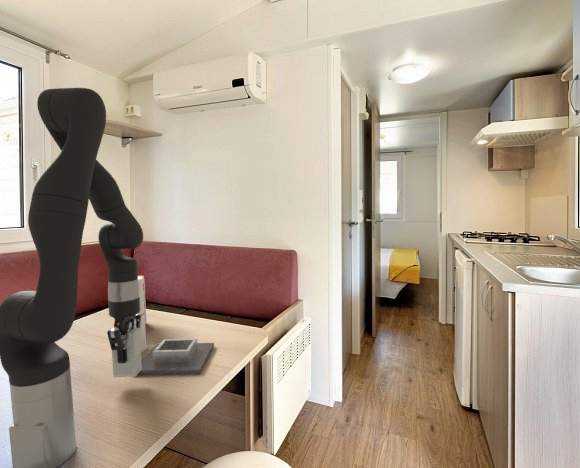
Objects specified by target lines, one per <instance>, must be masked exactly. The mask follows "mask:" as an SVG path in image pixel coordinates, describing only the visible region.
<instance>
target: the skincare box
mask: <svg viewBox="0 0 580 468" xmlns="http://www.w3.org/2000/svg"><path fill="white" fill-rule="evenodd" d="M125 335H126V334H125ZM125 335H121V337H125ZM122 344H123V340H122ZM126 348H127V362H126V363H118V360H117V350H111V355H112V356H111V358H112V360H111V361H112V374H113V378H114V379H115V378H129V377H130V378H131V377H137V376H136V375H137V374H138V373H139V372H140V370H141V369H142V364H141V360H142V352H141V346H140V329H139V328H135V329H131V330H130V333H129V339H128V340H127V347H126Z"/></svg>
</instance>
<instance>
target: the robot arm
mask: <svg viewBox="0 0 580 468" xmlns="http://www.w3.org/2000/svg"><path fill="white" fill-rule="evenodd" d="M36 101H37V103H36V105H37V110H38V113H39V116H40V118H41V121H42V123H43V125H44V126H45V128H46V130H47V131H48V132H49V135H50V136H51V137H52V139H53V141H54V142H55V143H56V145H57V147H58V148H59V150H60V153H59V154H58V156H57V157H56V158H55V159H54V160H53V161H52V163H50V165H49V167H48V168H47V169H45V171H44V172H43V174H42V175H40V177H39V179H38V180H37V182H36V184H35V186H34V188H33V191H32V194H31V200H30V204H29V205H30V206H29V210H28V215H27V217H28V218H27V225H28V230H29V232H30V236H31V238H32V242H33V244H34V247H35V249H36V251H37V255H38V260H39V275H38V281H37V287H36V290H22V291H18V292H14V293H13V294H11V295H9V296H8V297H7V298H5V299H4V301H3V302H1V305H0V364H1V366H2V368H3V370H4V371H5V373H6V374H7V376H8V382H9V392H10V402H11V403H10V405H11V412H12V423H13V424H12V425H11V426H10V427H8V433H9V434H8V435H9V443H10V445H9V446H10V454H11V455H10V456H11V463H12V465H11V466H12V468H58V467H60V466H61V465H62V464H64V463H65V462H67V461H68V460H69V459H70V458H71V457H72V456H73V455H74V453H75V451H76V450H77V439H76V437H77V436H76V424H75V413H74V411H75V410H74V400H73V389H72V376H71V375H72V374H71V362H70V355H69V353H68V351H66V350H65V349H64V348H62V347H60V346H59V345H58V344H57V343H56V342H58V341H60V340H62V339H63V338H64V337H65V336H66V335H67V334H68V333H69V331H70V330H71V328H72V327H73V324H74V321H75V318H76V315H77V308H78V307H77V305H78V289H79V288H78V283H79V282H78V281H79V267H80V259H81V258H80V257H81V251H82V241H83V235H84V229H85V225H86V220H87V213H88V208H89V202H90V205H91V206H92V209H93V212H94V213H95V215H96V217H97V218H98V219H99V220H102V221H106V222H108V223H104V224H103V225H102V226H101V227H100V229H99V232H98V244H99V246H100V249H101V252H102V254H103V257H104V261H105V262H106V266H107V277H108V278H107V279H108V281H107V282H108V284H107V300H108V301H107V302H108V303H107V304H108V315H109V316H110V317H111V318H113V319H114V323H113V328H112V329H108V330H107V333H106V334H107V338H108V343H109V345H110V349H111V351H112V350H117V360H118V363H126V362H127V348H126V347H127V340H128V339H129V333H130V330H131V329H135V328H139V329H140V323H141V315H140V314H139V315H138V313H139V312H140V293H139V283H138V276H139V275H138V262H137V260H136V259H135V258H134V257H130V256H126V255H125V254H124V253H123V251H122V250H134V249H138V248H139V247H140V246H141V245H142V244H143V241H144V231H143V228H142V227H141V226H142V225H141V224H140V223H139V222H138V220H137V219H136V218H135V216H134V215H133V214H132V212H131V211H130V209H129V208H128V207H127V205H126V202H125V200H124V198H123V195H122V192H121V190H120V186H119V185H118V183H117V181H116V179H115V178H114V177H113V175H112V174H111V173H110V172H109V171H108V170H107V169H106V168H105V167H104V165H102V164H101V162H99V161H98V159H97V158H98V157H97V156H98V153H99V150H100V146H101V143H102V140H103V137H104V133H105V128H106V126H107V125H106V123H107V110H106V104H105V102H104V100H103V98H102V97H101V95H100V94H99V92H98V91H95V90H94V89H91V88H86V87H65V88H64V87H63V88H58V87H57V88H48V89H44V90H42V91H41V93H40V94H39V95H38V97H37V100H36ZM125 334H126V335H125ZM121 335H125V337H121ZM122 340H123V344H122Z"/></svg>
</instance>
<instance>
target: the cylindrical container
mask: <svg viewBox="0 0 580 468" xmlns="http://www.w3.org/2000/svg"><path fill="white" fill-rule="evenodd" d="M140 276H141V275H138V283H139V293H140V312H139V313H138V315H139V314H140V315H141V323H140V346H141V353H143V352H145V351H146V350H147V337H146V329H145V315H144V298H143V281H142V277H140Z"/></svg>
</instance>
